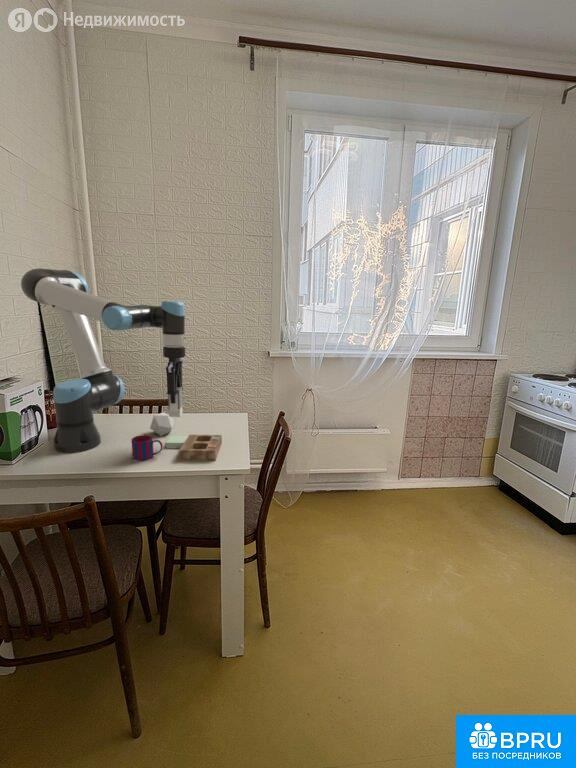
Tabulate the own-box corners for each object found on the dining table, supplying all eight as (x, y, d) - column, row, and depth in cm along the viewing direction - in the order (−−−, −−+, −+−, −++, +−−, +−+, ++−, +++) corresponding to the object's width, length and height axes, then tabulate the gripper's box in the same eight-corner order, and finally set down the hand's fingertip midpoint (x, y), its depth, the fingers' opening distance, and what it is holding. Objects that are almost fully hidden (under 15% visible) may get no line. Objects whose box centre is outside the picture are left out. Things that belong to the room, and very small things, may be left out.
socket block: (179, 460, 129) (179, 449, 128) (189, 443, 143) (189, 434, 142) (215, 460, 129) (215, 450, 128) (221, 443, 144) (221, 434, 143)
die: (177, 436, 151) (179, 413, 156) (159, 431, 145) (162, 406, 149) (162, 440, 156) (165, 417, 160) (144, 435, 149) (147, 411, 153)
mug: (138, 452, 134) (137, 434, 132) (166, 454, 133) (165, 436, 131) (128, 460, 127) (127, 441, 126) (157, 462, 126) (156, 443, 125)
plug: (168, 416, 138) (168, 389, 135) (171, 413, 142) (171, 387, 139) (179, 417, 138) (179, 390, 136) (182, 413, 142) (182, 387, 140)
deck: (166, 447, 139) (165, 442, 138) (171, 440, 145) (171, 435, 145) (185, 448, 139) (185, 442, 138) (189, 440, 146) (189, 435, 145)
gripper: (178, 349, 126) (180, 417, 131) (190, 343, 142) (191, 403, 148) (155, 348, 125) (158, 416, 131) (169, 342, 142) (171, 402, 147)
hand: (175, 409), depth 139 cm, fingers closed on plug, 4 cm apart
